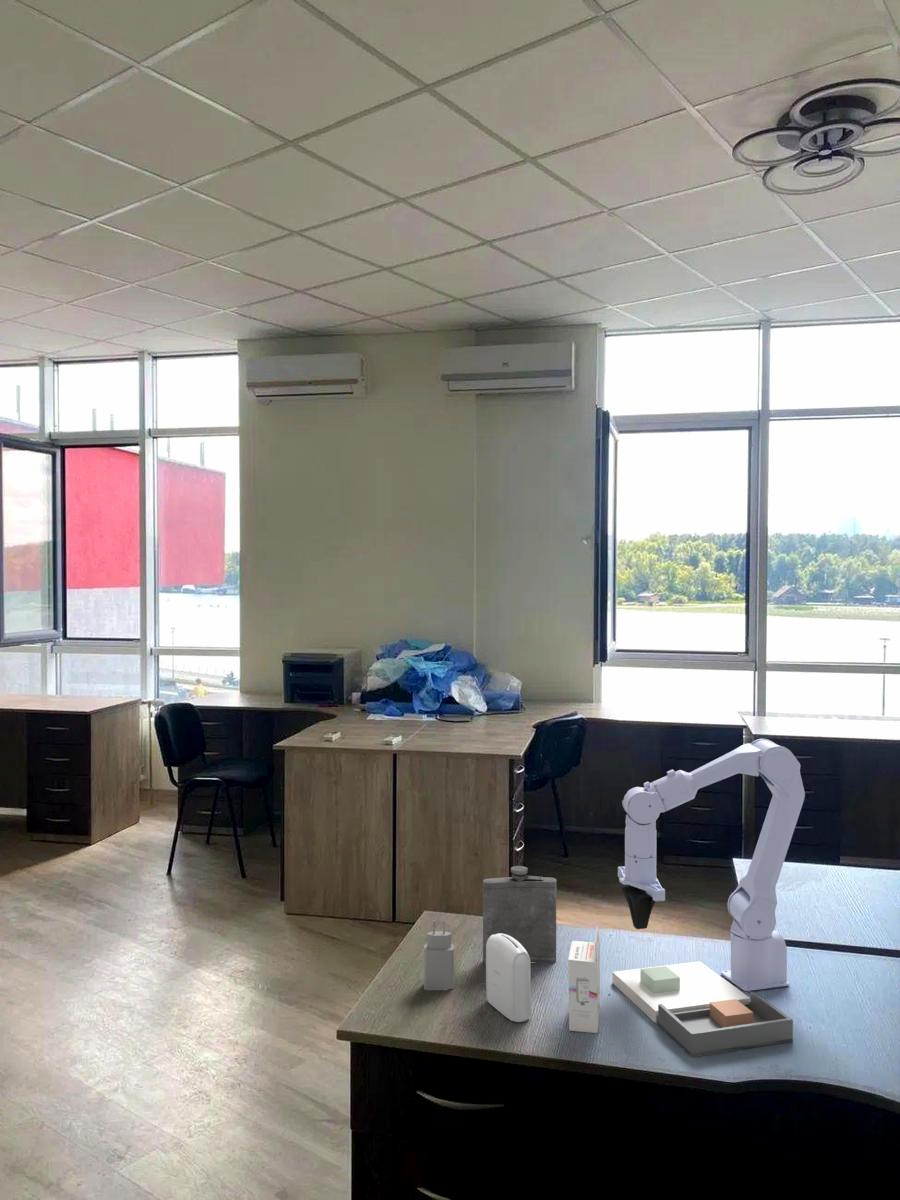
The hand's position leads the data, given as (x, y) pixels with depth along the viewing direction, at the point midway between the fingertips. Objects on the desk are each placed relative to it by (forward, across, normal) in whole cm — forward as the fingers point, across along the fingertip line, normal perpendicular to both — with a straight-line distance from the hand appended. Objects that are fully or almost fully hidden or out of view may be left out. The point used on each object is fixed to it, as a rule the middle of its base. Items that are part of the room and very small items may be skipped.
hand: (640, 927), depth 163 cm
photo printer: (+10, +5, -28) cm, 30 cm away
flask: (+10, -14, -19) cm, 25 cm away
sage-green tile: (+8, +8, 0) cm, 11 cm away
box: (+9, +22, +3) cm, 24 cm away
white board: (+10, +8, +3) cm, 13 cm away
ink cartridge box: (+10, +12, -17) cm, 23 cm away
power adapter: (+10, -7, -37) cm, 39 cm away
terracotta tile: (+9, +20, +6) cm, 23 cm away
